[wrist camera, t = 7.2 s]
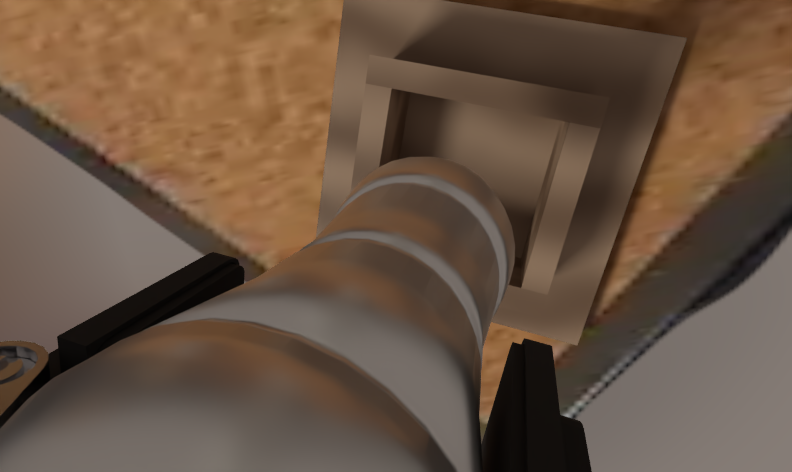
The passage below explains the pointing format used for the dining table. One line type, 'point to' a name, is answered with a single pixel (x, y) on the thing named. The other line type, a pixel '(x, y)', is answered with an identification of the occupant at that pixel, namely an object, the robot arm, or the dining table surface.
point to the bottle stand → (506, 129)
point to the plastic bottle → (305, 352)
